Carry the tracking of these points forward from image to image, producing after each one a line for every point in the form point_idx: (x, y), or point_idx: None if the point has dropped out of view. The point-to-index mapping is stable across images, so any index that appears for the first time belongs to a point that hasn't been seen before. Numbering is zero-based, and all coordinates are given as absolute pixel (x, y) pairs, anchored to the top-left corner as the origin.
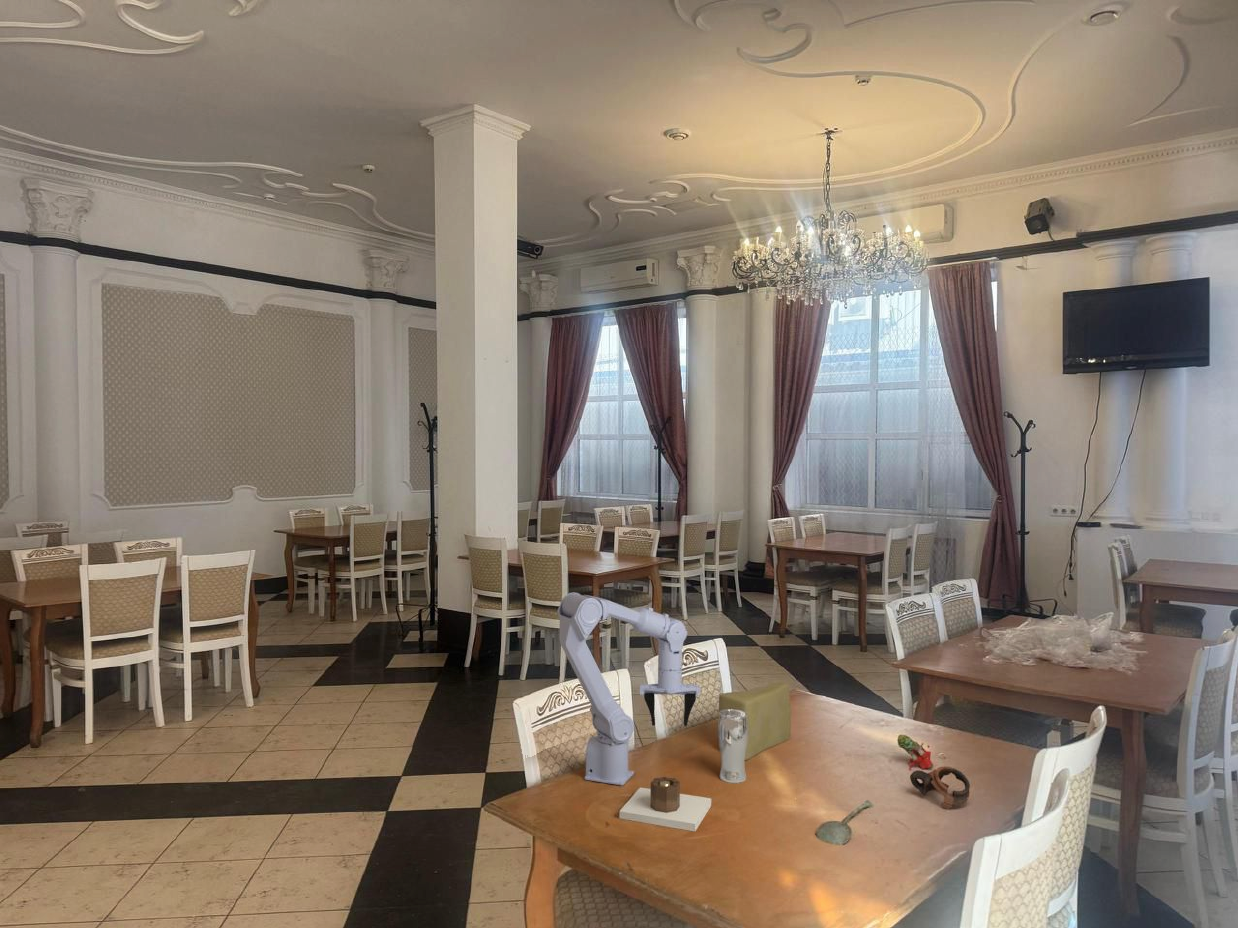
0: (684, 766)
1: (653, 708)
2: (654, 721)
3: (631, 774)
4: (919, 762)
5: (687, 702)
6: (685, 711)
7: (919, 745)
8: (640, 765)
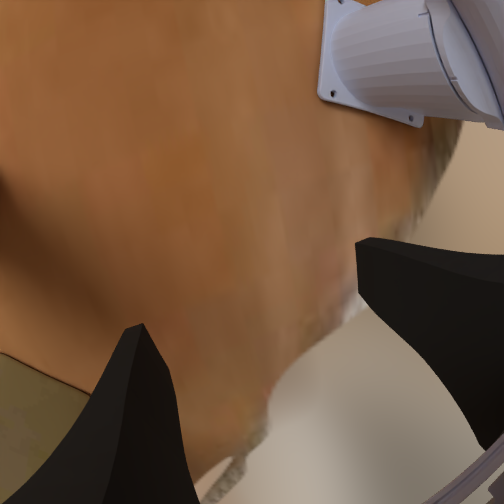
0: (145, 231)
1: (469, 270)
2: (377, 245)
3: (322, 67)
4: None
5: (77, 498)
6: (123, 403)
7: None
8: (309, 183)
